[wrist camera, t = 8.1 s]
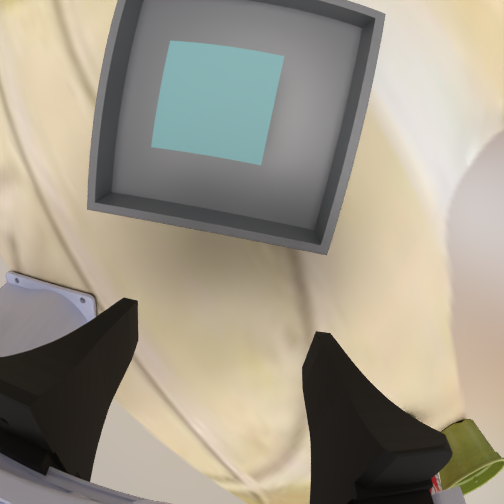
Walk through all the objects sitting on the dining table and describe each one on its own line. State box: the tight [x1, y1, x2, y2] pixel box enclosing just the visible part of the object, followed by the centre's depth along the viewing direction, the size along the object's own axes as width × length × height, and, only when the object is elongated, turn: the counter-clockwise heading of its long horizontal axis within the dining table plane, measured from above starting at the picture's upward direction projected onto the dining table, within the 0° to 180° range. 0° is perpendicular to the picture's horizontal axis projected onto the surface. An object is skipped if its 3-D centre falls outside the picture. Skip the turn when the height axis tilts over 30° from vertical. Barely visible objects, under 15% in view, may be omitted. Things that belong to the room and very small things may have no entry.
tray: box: [87, 0, 385, 255], centre depth 16 cm, size 14×14×3 cm
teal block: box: [151, 41, 284, 165], centre depth 14 cm, size 4×4×6 cm
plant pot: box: [439, 419, 504, 496], centre depth 27 cm, size 9×9×9 cm
